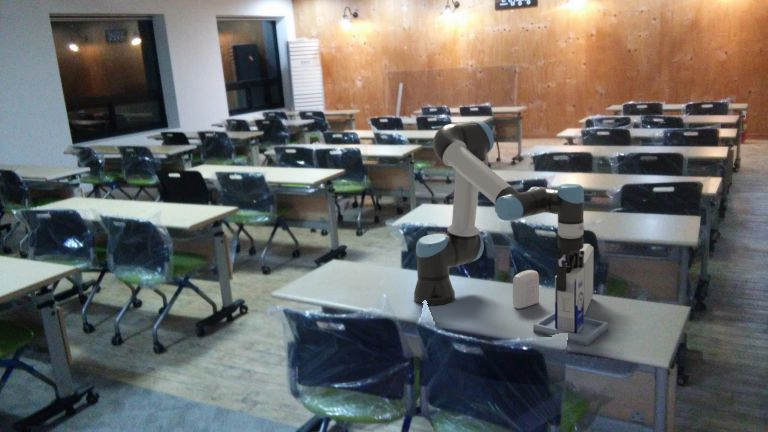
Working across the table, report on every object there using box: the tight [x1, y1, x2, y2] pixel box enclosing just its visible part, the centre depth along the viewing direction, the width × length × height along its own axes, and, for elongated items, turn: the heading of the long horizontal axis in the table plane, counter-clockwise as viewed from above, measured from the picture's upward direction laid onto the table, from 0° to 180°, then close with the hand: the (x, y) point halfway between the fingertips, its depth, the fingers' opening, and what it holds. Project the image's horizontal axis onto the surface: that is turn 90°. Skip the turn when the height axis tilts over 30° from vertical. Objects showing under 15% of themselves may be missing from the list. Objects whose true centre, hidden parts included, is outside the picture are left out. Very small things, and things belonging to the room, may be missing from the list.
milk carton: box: [554, 268, 585, 334], centre depth 191 cm, size 7×7×20 cm
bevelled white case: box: [567, 243, 595, 316], centre depth 212 cm, size 21×8×20 cm, turn 154°
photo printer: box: [512, 269, 540, 309], centre depth 217 cm, size 10×4×12 cm, turn 123°
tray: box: [532, 310, 609, 347], centre depth 194 cm, size 18×14×2 cm
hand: (570, 307), depth 193 cm, fingers open, 5 cm apart
